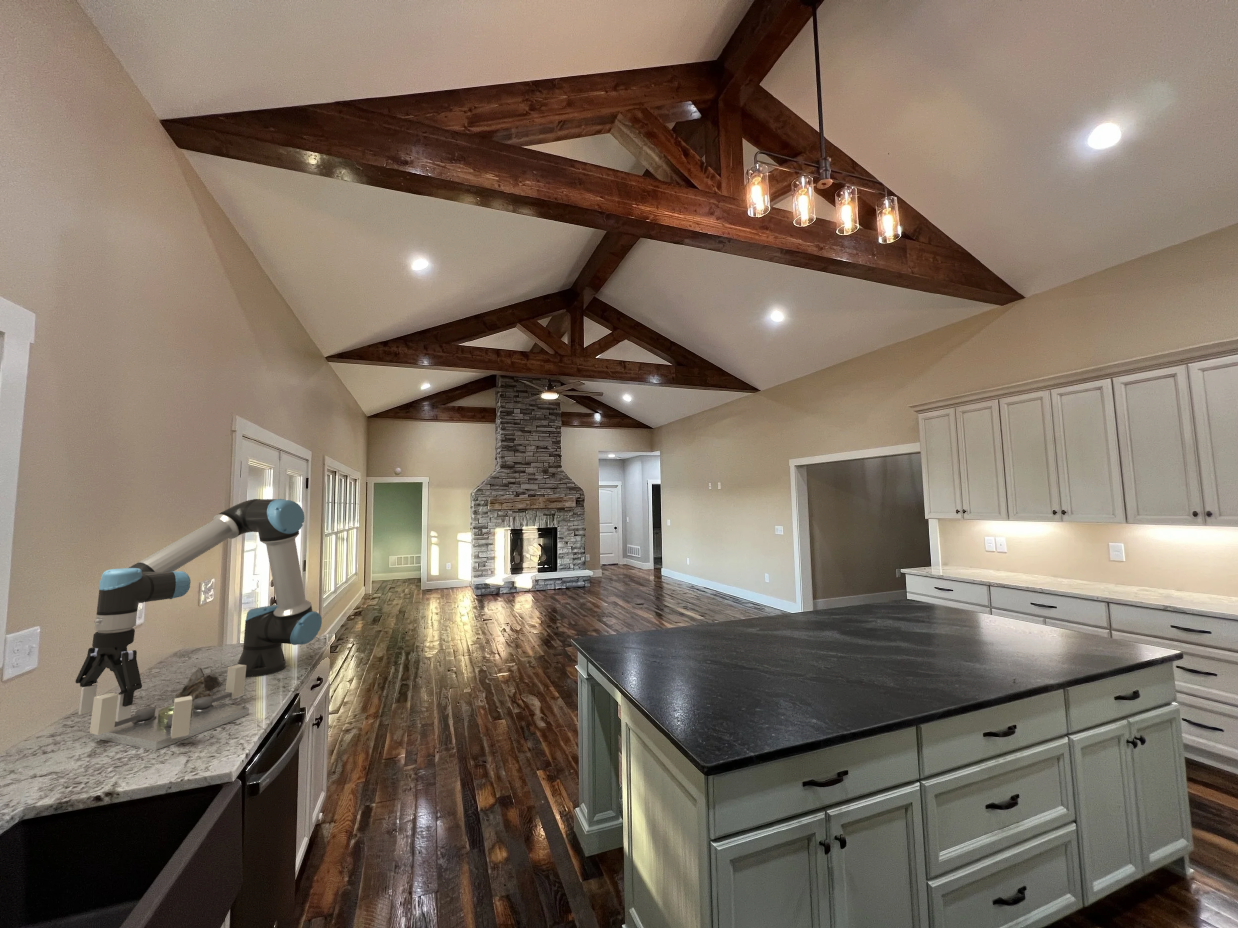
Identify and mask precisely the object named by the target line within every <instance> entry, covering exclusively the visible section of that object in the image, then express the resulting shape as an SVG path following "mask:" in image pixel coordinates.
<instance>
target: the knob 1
mask: <svg viewBox="0 0 1238 928" xmlns="http://www.w3.org/2000/svg"><path fill="white" fill-rule="evenodd" d="M118 695H119V693H118V694H117V693H112V692H108V693H104V694H102V695H96V697H94V702H93V710H92V711H91V719H90V726H89V727H90V728H89V734H91V735H92V734H97V735H99V734H102V733H105V732H108V731H111V730H114V727H117V726H120V725H123V724H126V723H130V722H133V721H141V720H147V719H150V718H153V717H154V716H155V709H157V708H156V706H155V707H154V706H147V707H141V708H140V709H137V710H135V711H134V713H133V714H131V717H130V718H127V719H124V720H121V721H118V722H117V721H115V720H116V711H117V703H118Z"/></svg>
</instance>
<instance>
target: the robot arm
mask: <svg viewBox="0 0 1238 928" xmlns="http://www.w3.org/2000/svg"><path fill="white" fill-rule="evenodd" d="M303 523H305V512H304V510H303V508H302V506H301V505H300V504H298V503H297V502H296V501H294V500H290V499H284V498H278V499H277V498H275V499H274V498H272V499H271V498H269V499H268V498H267V499H266V498H265V499H263V498H262V499H261V498H253V499H248V500H245V501H243V502H239V503H237V504H235V505H233V506H231V507H229V508H226V509H225V510H222V511H221V512H219V513H218V514H216V515H214V516H213V518H212V521H210V522H208V523H206V524H204V525H202V526H201V527H199V528H196V530H194V531H192V532H189V533H188V534H187V535H185V536H182V537H181V538H179V539H177V540H175V541H174V542H172V543H170V544H168V545H167V546H165V547H163V548H161V549H159V550H158V551H155V552H154V553H152V554H150V555H149V556H147V557H145V558H143V559H141V560H140V561H138V562H136V563H134V564H133V565H131V566H129V567H123V568H112V569H107V570H105V571H104V572H103V573H102V575H101V578H100V581H99V584H98V599H97V606H96V607H97V608H96V617H95V619H94V630H95V631H96V632H95V633H93V635H92V644H91V645H92V646H91V647H89V648H88V651H87V654H86V655H87V656H86V657H85V660H84V661H83V664H82V666H81V669H80V670H79V673H78V674H77V677H76V678H75V681H74V682H75V684H79V687H81V692H80V699H79V707H78V715H80V716H81V715H83V714H88V713H92V710H93V702H94V697H97V691H98V690H97V689H98V683H99V682H98V679H99V678H100V677H101V675H102V673H104V671H105V669H109V671H111V672H112V673H113V674H114V677H115V680H116V682H117V684H118V686H119V687H118V688H119V689H120V692H119V693H118V702H117V710H116V718H115V721H117V722H118V721H121V720H124V719H127V718H130V717H131V715H132V708H133V703H134V696H135V695H134V694H135V691H137V690H141V689H142V688H143V684H142V679H141V674H140V669H139V664H138V660H137V654H138V653H137V650H136V649H135V650H134V649H133V650H128V646H129V645H131V644H133V642H134V640H135V633H136V630H135V627H136V625H137V618H138V617H137V616H138V608H139V604H142V603H143V604H144V603H149V602H150V603H151V602H156V601H164V600H165V601H166V600H172V599H177V598H181V597H183V596H185V595H186V594H188V592H189V590H190V588H191V577H190V576H189V574H188V573H186V572H185V571H179V570H178V569H180V568H181V567H183V566H185V565H187V564H188V563H191V562H192V561H193V560H196V559H197V558H198V557H200V556H201V555H203V554H205V553H207V552H209V551H210V550H211V549H213V548H215V547H217V546H219V545H220V544H221V543H223V542H225V541H226V540H228V539H230V540H233V539H235V538H237V537H239V536H240V535H243V534H247V533H258V538H259V542H261V544H262V543H263V544H264V545H265V546H266V552H267V557H268V562H269V563H268V564H269V567H270V573H271V577H272V584H273V589H274V595H275V600H276V604H273V605H267V606H266V605H265V606H259V607H256V608H251V609H250V610H248V611H247V613H246V618H245V620H244V634H243V635H244V636H243V649H242V653H241V654H240V656H239V657H240V658H239V659H238V661H237V664H236V665H238V664H240V665H246V676H245V678H246V677H248V678H249V677H258V676H259V677H260V676H261V677H262V676H266V675H271V674H274V673H275V674H276V673H278V672H280V671H283V670H284V669H286V659H285V655H284V650H283V648H282V647H283V646H282V645H283V644H286V645H287V644H289V645H293V646H296V645H297V646H298V645H302V646H303V645H306V644H308V643H310V642H312V641H314V639H315V638H316V636H317V635H318V634H319V632H320V630H321V627H322V623H323V622H322V621H323V619H322V616H321V614H320V613H319V612H317V611H314V610H313V607H312V605H313V604H312V603H311V601H310V600H307V599H306V596H305V595H306V594H305V588H304V583H303V582H304V581H303V576H302V571H301V566H300V560H299V555H298V553H299V552H298V550H297V549H298V548H297V541H296V538H297V537H298V536H299V535H300V530H301V529H302V528H303V526H304V524H303ZM177 570H178V571H177Z"/></svg>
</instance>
